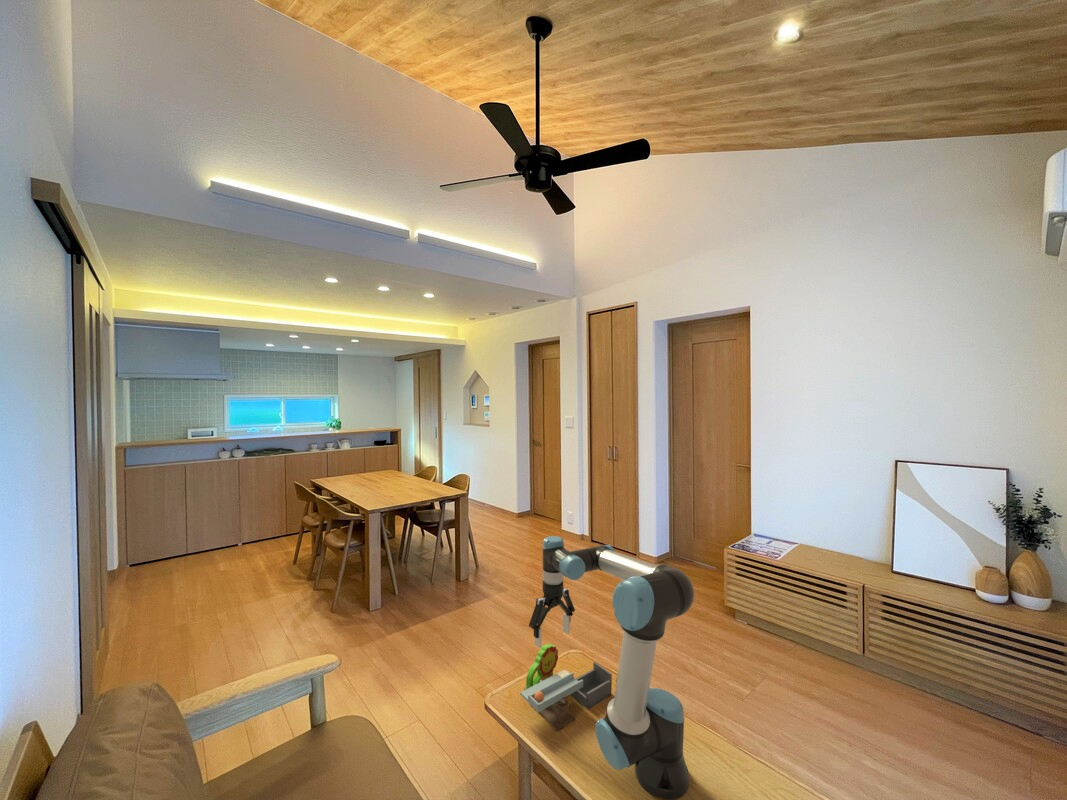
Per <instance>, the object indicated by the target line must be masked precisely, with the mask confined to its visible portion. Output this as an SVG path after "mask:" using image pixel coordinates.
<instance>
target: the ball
mask: <svg viewBox="0 0 1067 800" xmlns="http://www.w3.org/2000/svg"><path fill="white" fill-rule="evenodd" d="M534 698H535V700H536V701H537V702H538V703H540V702H542V701H543V700H544V694H543V693H542V692H541V691H538V692H536V693H535V696H534Z"/></svg>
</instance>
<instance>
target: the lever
mask: <svg viewBox="0 0 1067 800" xmlns="http://www.w3.org/2000/svg"><path fill="white" fill-rule="evenodd" d="M574 675H575V674H574V672H573V671H571V672H569V671H567V670H566V668H565V669H563V670H561V671H559V672H557V673H556V674H553V676H551V677H549V678H547V679H546V680H544V681H543V680H540V681H539V683H538V684H536V685H534V686H532V687H530V688H528V689H526V690H524V689H523V690H522V691H520V696H521V697H522V698H523V699H524V700H525V701H526V702H527V703H528V704H529V705H530V707H532V709H534V711H536V713H538V712H540V711H542V710H543V709H545V708H547V707H549V706H550V705H552V704H554V703H556V702H560V703H563V704H565V703H566V702H567V700H566V699H564V698H566V697H568V696H569V695H570V696H571V694H572V693H573V692H575V691H577V690H579V689H580V688H582V687H583V680H580V681H578V680H576V677H574ZM538 691H541V692H542V693H543V694H544V700H543V701H542V702H540V703H538V702H537V701H536V700H535V698H534V696H535V693H536V692H538Z"/></svg>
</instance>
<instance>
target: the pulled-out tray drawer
mask: <svg viewBox="0 0 1067 800" xmlns="http://www.w3.org/2000/svg"><path fill="white" fill-rule="evenodd" d="M592 667H593V668H592V669H591V670H589V671H587V672H585V673H582V674H581V675H580V676H577V677H575V679H576V680H578V681H580V680H583V687H582V688H580V689H579V690H577V691H575V692H573V693H572V694H570V696H571V697H573V699H575V701H577V702H578V703H579V704H581V705H582V706H583V707H584V708H585V709H587V710H589V709H592V707H594V706H596V705H598V704H599V703H600V702H601V703H602V701H604V700H605V699H608V698H609V697H611V696H612V689H613V688H612V685H613V684H612V683H613V675H612V672H611V671H609V670H607V669H606V668H605V667H603V666H602V665H600V664H599V663H597V661H594V662H593V666H592Z"/></svg>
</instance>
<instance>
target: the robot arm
mask: <svg viewBox="0 0 1067 800" xmlns="http://www.w3.org/2000/svg"><path fill="white" fill-rule="evenodd" d="M564 543H565V542H564V539H563V537H560V536H555V535H551V536H550V535H549V536H546V537H545V538H544V539H543V542H542V592H543V596H542V598H540V597H537V598H536V599H535V606H534V609H533V611H532V615H531V617H530V621H529V624H528V627H529V628H531V629H532V630H533V637H534V645H535V646H536V647H538V648H539V649H541V648H542V638H543V637H542V630H543V629H542V628H541V626H542V625H543V623H544V621H545V619H546V616H547V615H548V613H549V612H550V611H551V609H553V608H556V607H558V606H559V607H560V609H562V611H563V612H564V613H562V631H563V632H564V633H565V634H567V635H569V634H570V630H571V629H570V625H571V617H573V616H574V613H575V610H576V609H575V606H574V604H573V601H572V599H571V596H570V591H569V589H568V588H565V587H564V577H565V578H567V579H568V580H572V581H577V580H579V579H580V578H582V577H583V576H584V574H585V573H588V572H592V571H593V572H594V571H596V570H597V571H601V572H604V573H606V574H609V575H610V576H614V577H616V578H618V579H620V580H621V581H620V582H619V583H617V585H616V586H615V588H614V590H613V594H612V608H613V610H614V611H613V614H614V617H615V618H616V621H617V623H618V624H619V626H620V628H621V630H622V631H623V633H622V639H621V640H622V642H621V647H620V648H621V649H620V655H619V663H618V669H617V676H616V679H617V682H616V681H615V682H616V683H615V691H614V698H612V699H610V701H608V704H607V707H606V715H605V717H601V718H599V720H597V721H596V723H595V735H596V740H597V743H598V746H599V748H600V751H601V753H602V755H603V757H604V759H605V760H606V762H607V763H608V764H609V765H610V766H611V768H613V769H615V770H618V771H621V770H623V769H628V768H630V767H631V766H633V765H634V773H635V777H636V780H637V781H638V783H639V784H640V785H641V787H642V788H643V789H644V790H645V791H647V792H648V794H649V793H650V794H651V795H653V796H655V797H657V798H660V799H663V800H674V799H675V800H677V799H679V798H680V797H682V796H684V795H685V794H686V793H687V791H688V789H689V786H690V785H689V784H690V777H689V776H690V775H689V770H688V766H687V764H686V761H685V755H684V731H685V715H684V706H683V703H682V702H681V700H680V699H679V698H678V697H677V696H676V695H674V694H673V693H672V692H669V691H667V690H665V689H662V688H658V687H651V688H650V686H651V685H650V684H651V680H652V672H653V667H654V659H655V655H656V654H655V653H656V648H657V642H658V641H659V640H662V638H663V637H664V636H665V630H666V623H667V621H669V620H672V619H675V618H677V617H680V616H683V615H684V614H686V613H687V612H688V611H689V610H690V609H691V608H692V605H693V603H694V599H695V591H694V585H693V583H692V581H691V579H690V578H689V577H688V575H687V574H686V573H684V571H682V570H680V569H679V568H677V567H673V566H671V565H667V564H664V563H662V564H657V565H656V564H654V563H650V562H648V561H644V560H642V559H638V558H635V557H633V556H629V555H626V554H623V553H619V552H617V551H616V549H614V548H613V546H612V545H610V544H601V545H597V546H593V547H587V548H583V549H578V550H577V549H576V550H571V551H570V550H569V549H566V548H565V544H564ZM562 598H563V599H564V601H563V599H562Z"/></svg>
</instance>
